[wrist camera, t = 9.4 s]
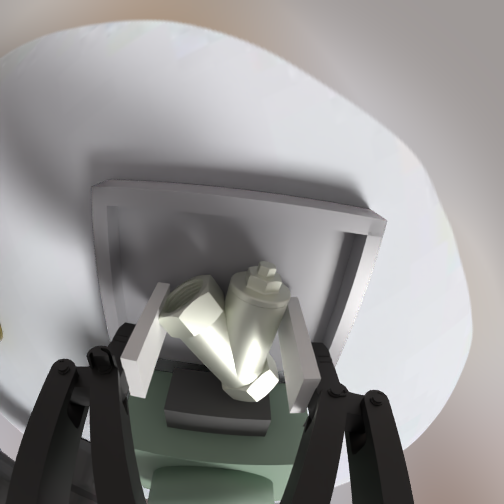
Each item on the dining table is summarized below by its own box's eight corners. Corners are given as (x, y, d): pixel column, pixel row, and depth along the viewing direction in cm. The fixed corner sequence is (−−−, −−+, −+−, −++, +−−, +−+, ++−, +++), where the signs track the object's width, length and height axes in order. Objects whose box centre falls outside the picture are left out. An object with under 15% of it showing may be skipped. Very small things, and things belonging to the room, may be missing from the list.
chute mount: (320, 364, 21) (326, 385, 19) (125, 344, 20) (115, 363, 18) (370, 209, 16) (387, 220, 14) (109, 179, 15) (91, 186, 13)
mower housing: (275, 442, 26) (282, 523, 16) (156, 431, 26) (139, 510, 15) (308, 364, 21) (336, 487, 11) (136, 346, 20) (91, 464, 10)
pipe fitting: (260, 236, 16) (165, 291, 16) (271, 264, 12) (150, 328, 13) (315, 331, 18) (233, 370, 19) (332, 368, 15) (235, 411, 16)
